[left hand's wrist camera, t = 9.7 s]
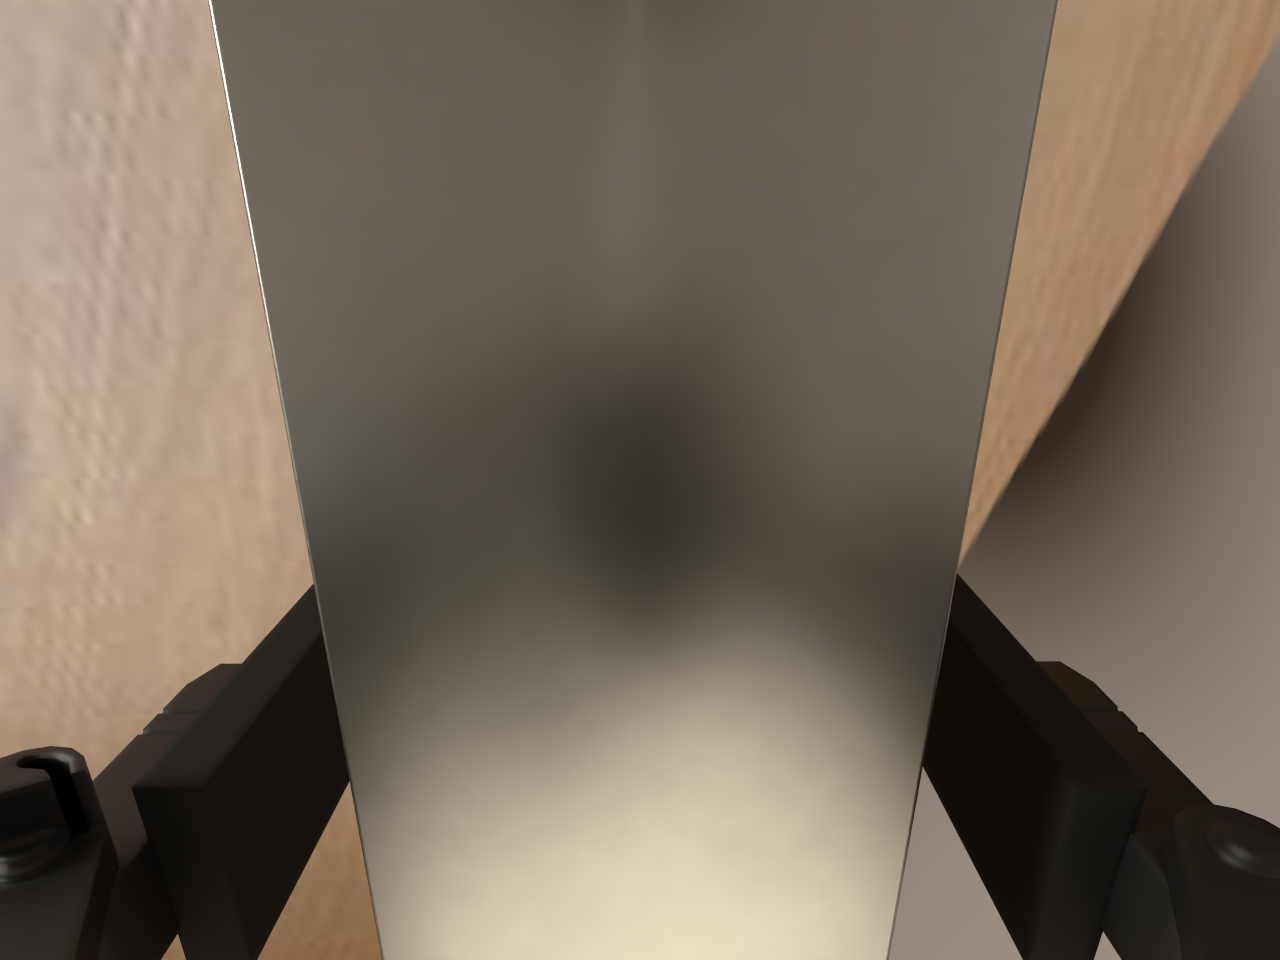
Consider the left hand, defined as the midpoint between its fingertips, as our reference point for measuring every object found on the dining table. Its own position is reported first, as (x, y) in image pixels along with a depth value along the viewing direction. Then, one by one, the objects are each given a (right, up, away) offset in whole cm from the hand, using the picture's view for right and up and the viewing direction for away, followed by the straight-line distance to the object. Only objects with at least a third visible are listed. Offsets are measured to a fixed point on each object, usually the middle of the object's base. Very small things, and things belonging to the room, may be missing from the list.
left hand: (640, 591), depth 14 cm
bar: (0, +9, -2) cm, 9 cm away
